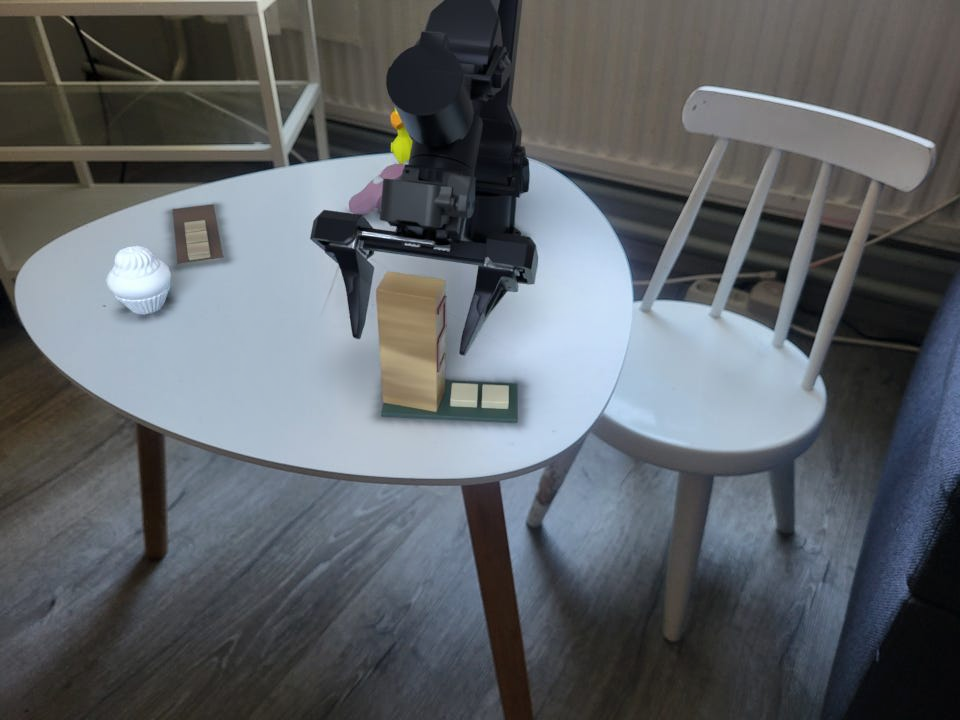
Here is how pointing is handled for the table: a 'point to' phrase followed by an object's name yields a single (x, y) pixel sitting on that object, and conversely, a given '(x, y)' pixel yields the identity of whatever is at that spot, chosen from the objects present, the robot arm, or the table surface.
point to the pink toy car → (375, 190)
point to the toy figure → (400, 139)
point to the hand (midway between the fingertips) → (408, 346)
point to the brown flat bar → (196, 234)
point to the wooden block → (412, 339)
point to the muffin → (139, 280)
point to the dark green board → (467, 403)
